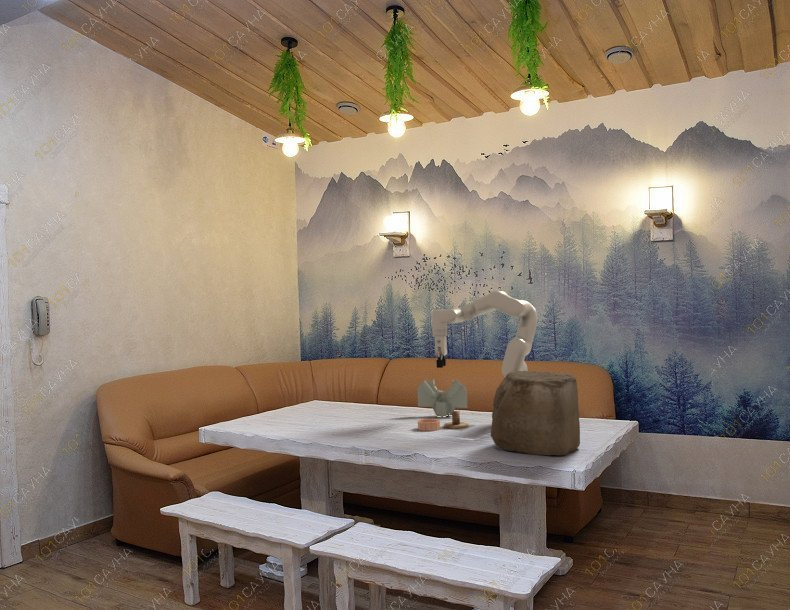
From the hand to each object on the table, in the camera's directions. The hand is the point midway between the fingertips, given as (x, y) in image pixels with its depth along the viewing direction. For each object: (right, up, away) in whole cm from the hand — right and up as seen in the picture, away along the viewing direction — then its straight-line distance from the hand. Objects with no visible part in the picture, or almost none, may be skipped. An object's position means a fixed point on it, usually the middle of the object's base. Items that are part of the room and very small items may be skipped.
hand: (441, 366), depth 328 cm
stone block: (+31, -26, -73) cm, 84 cm away
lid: (+5, -26, -25) cm, 36 cm away
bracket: (+1, -28, +10) cm, 29 cm away
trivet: (+5, -27, -25) cm, 37 cm away
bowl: (-8, -27, -28) cm, 40 cm away
